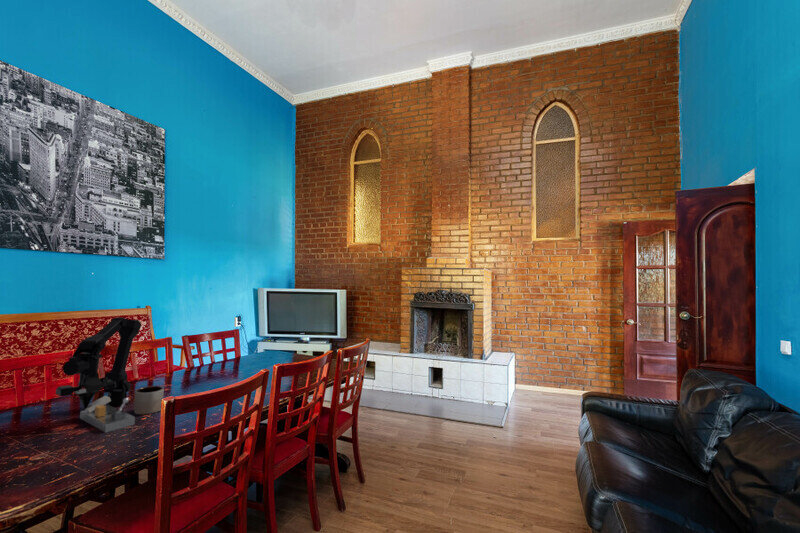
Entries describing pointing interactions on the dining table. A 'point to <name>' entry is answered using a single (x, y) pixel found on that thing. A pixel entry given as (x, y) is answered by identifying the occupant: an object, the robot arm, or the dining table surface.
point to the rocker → (98, 403)
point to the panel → (108, 419)
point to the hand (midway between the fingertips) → (85, 408)
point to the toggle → (122, 405)
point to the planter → (148, 400)
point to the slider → (100, 410)
